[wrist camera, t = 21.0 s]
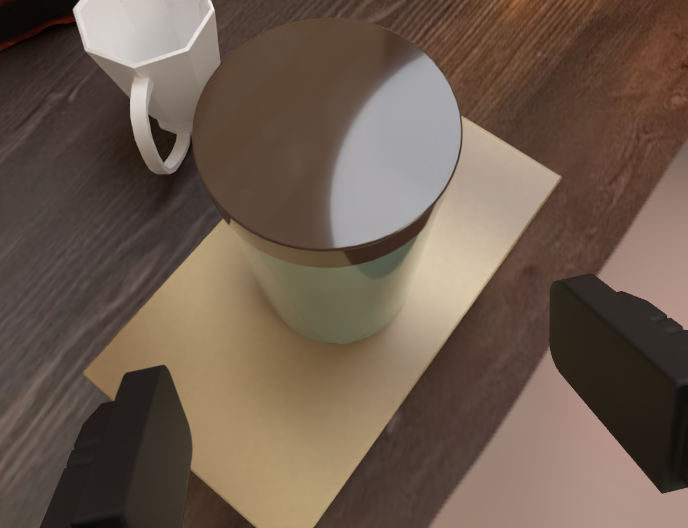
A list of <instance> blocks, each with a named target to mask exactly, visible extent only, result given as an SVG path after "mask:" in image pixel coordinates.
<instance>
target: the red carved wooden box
mask: <svg viewBox="0 0 688 528" xmlns="http://www.w3.org/2000/svg"><path fill="white" fill-rule="evenodd" d="M78 2H79V0H0V51H1V50H4V49H6V48H8V47H11V46H12V45H14V44H16V43H18V42H20V41H22V40H24V39H27V38H29V37H32V36H34V35H37V34H38V33H40V32H41V31H42V30H44V29H45V28H46V27H48V26H51V25H54V24H68V23H71V22H75V21H76V19H75V15H74V12H73V9H74V7H75V6H76V5H77V3H78Z"/></svg>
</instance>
